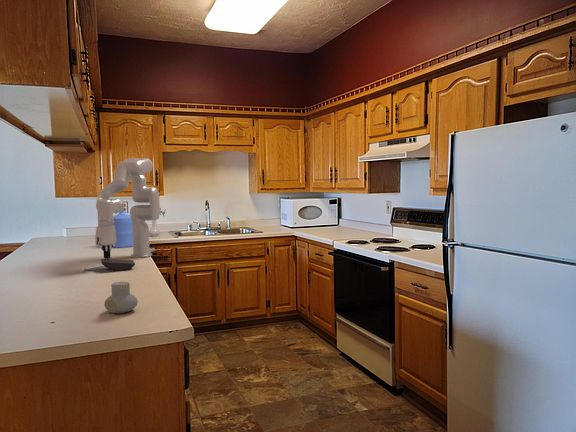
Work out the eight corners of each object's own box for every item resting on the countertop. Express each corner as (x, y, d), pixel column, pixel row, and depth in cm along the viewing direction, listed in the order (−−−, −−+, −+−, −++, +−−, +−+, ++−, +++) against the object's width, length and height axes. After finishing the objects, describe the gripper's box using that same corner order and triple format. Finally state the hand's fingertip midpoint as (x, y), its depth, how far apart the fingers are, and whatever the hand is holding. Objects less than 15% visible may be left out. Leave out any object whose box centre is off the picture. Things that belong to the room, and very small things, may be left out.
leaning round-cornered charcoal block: (99, 266, 229) (100, 270, 221) (100, 257, 229) (102, 261, 220) (132, 268, 236) (134, 271, 228) (133, 259, 236) (135, 262, 228)
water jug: (127, 248, 305) (126, 208, 303) (106, 248, 308) (105, 208, 306) (138, 245, 321) (137, 206, 319) (118, 244, 323) (117, 206, 321)
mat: (101, 266, 238) (101, 265, 237) (122, 269, 230) (122, 268, 230) (84, 270, 228) (84, 269, 228) (105, 272, 220) (105, 272, 220)
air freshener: (101, 311, 153) (100, 283, 152) (122, 306, 160) (121, 279, 159) (120, 316, 147) (119, 287, 146) (141, 310, 154) (140, 282, 153)
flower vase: (168, 236, 375) (167, 206, 373) (145, 237, 366) (144, 207, 364) (164, 234, 386) (163, 206, 384) (142, 236, 377) (141, 206, 376)
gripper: (112, 222, 238) (113, 255, 239) (88, 224, 225) (90, 259, 226) (122, 222, 234) (123, 256, 236) (98, 224, 221) (100, 260, 222)
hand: (107, 258), depth 231 cm, fingers closed
